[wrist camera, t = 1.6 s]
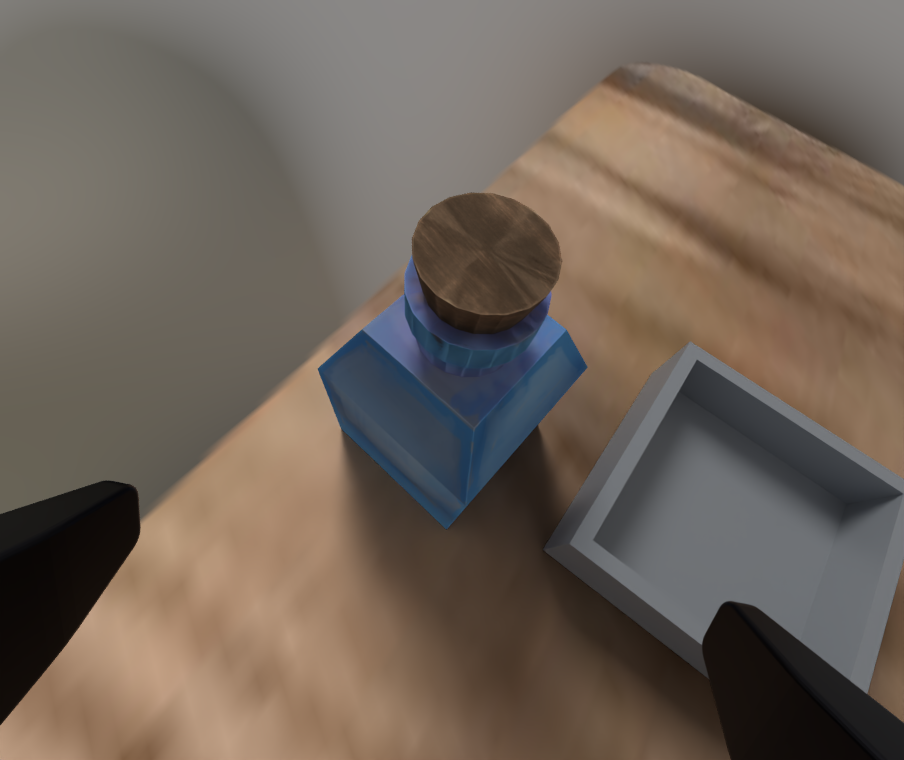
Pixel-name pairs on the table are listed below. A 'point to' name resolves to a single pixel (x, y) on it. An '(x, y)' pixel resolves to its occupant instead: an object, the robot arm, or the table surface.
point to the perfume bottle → (458, 353)
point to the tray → (737, 519)
